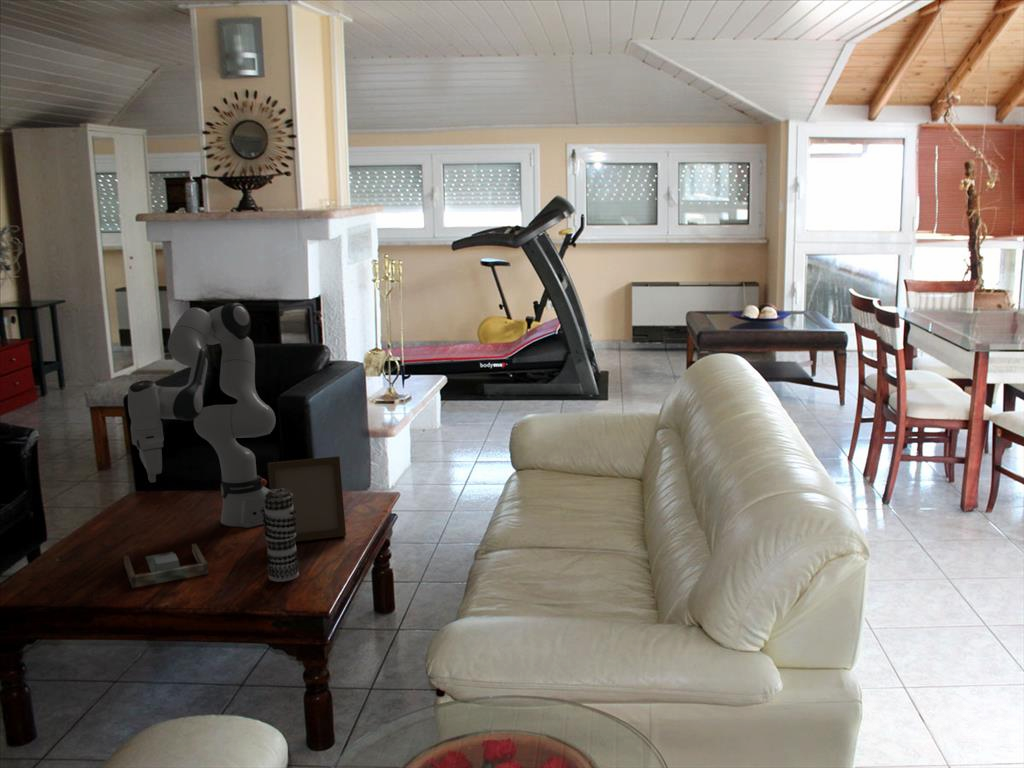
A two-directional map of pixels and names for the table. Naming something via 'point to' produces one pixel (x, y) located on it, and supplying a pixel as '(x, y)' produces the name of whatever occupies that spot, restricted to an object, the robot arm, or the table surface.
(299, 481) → the photo frame
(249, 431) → the robot arm
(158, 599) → the table surface
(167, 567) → the block
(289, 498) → the black white tall cylinder
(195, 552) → the grey-green e-shaped frame
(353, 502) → the table surface
